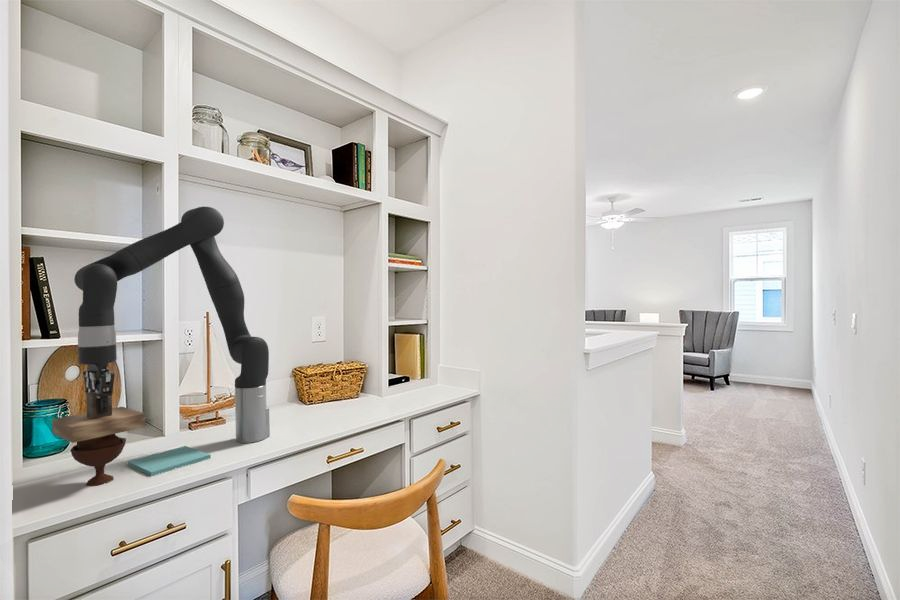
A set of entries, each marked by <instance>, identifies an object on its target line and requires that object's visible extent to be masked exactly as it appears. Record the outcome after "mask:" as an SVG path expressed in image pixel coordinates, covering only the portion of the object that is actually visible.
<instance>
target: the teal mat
mask: <svg viewBox="0 0 900 600" xmlns="http://www.w3.org/2000/svg"><path fill="white" fill-rule="evenodd" d="M208 458H210V459H211V454H210V453H207V452H204V451H201V450H198V449H197V448H193V447H190V446H187V445H183V446H180V447H176V448H172V449H168V450H165V451H161V452H157V453H153V454H150V455H145V456H143V457H142V456H141V457H138V458H135V459H132V460H127V466H129V467H131V468H134V469H135V470H138V471H140V472H142V471H143V472H142V473H144V472H145V474H146V475H149V476H150V475H151V477H153V475H154V476H156V474H157V475H159V473H160V474H163V473H166V471H167V472H170V471H173V470H176V469H175V468H177V469H180V468H183V467H186V466H189V465H188V464H190V465H193V464H196V463H199V462H198V461H200V462H202V461H201V460H203V461H206V460H209V459H208ZM205 459H206V460H205ZM195 462H196V463H195ZM192 463H193V464H192ZM185 465H186V466H185ZM182 466H183V467H182ZM179 467H180V468H179ZM172 469H173V470H172ZM169 470H170V471H169ZM162 472H163V473H162Z"/></svg>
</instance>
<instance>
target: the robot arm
mask: <svg viewBox="0 0 900 600" xmlns="http://www.w3.org/2000/svg"><path fill="white" fill-rule="evenodd" d="M224 221H225V220H224V216H223V215H222V214H221V212H220V211H218V210H217V209H216V208H214V207H211V206H198V207H196V208H192V209H188V210H186V211H185V212H184V213H183V215H182V216H181V219H180V221H179V223H177V224H175V225H173V226H171V227H169V228H166V229H164V230H162V231H160V232H157V233H155V234H151V235H149V236H147V237H144V238H142V239H140V240H138V241H135V242H132V243H131V244H129V245H127V246H125V247H124V248H122V249H121V248H120V249H118V251H115V252H114V253H112V254H110V255H108V256H105V257H103V258H101V259H98V260H96V261H93V262H91V263H90V264H87V265H85V266H82V267H81V268H80V269H78V270H77V271H76V273H75V274H74V284H75V286H76V287H77V288H78V289H79V290H81V291H82V302H81V304H80V306H79V308H78V332H77V355H78V356H77V357H78V361H77V362H78V364H79V365H83V366H85V365H87V370H83V371H82V377H83V383H84V390H85V391H84V392H85V394H86V393H89V392H96V399H97V413H98V414H104V413H107V412H108V411H109V408H108V397H110V396H113V394H114V393H113V391H114V383H115V373H114V372H112V371H111V369H110V368H109V364H110V363H115V362H116V361H117V360H118V359H117V334H116V328H115V324H116V323H115V310H114V308H115V303H116V297H117V292H118V282H119V281H121V280H123V279H124V278H128V277H130V276H133V275H136V274H138V273H141V272H142V271H144V270H146V269H147V268H149V267H151V266H154V265H155V264H156V263H159V262H160V261H162V260H163V259H165V258H168V256H170V255H172V254H174V253H176V252H177V251H180V250H181V249H184V248H185V247H189V246H190V248H191V250H192V251H193V254H194V256H195V258H196V260H197V261H196V262H197V263H198V266H199V269H200V272H201V275H202V277H203V280H204V282H205V285H206V288H207V291H208V294H209V297H210V299H211V301H212V304H213V305H214V308H215V311H216V314H217V316H218V317H217V318H219V321H220V324H221V326H222V329H223V334H224V337H225V340H226V345H227V346H226V347H227V349H228V352H229V355H230V357H231V359H232V360H233V361H234V362H235V363H237V364H238V365H240V374H239V375H238V376H236V378H235V379H234V402H235V406H234V408H235V412H234V413H235V442H237V443H241V444H249V443H256V442H260V441H263V440H264V439H266V438H268V437H271V435H270V434H271V430H270V407H269V406H267V378H268V375H269V367H270V366H269V362H270V361H269V360H270V355H269V354H270V353H269V351H270V350H269V347H268V346H269V345H268V343H267V342H266V340H265V339H263V338H262V337H259V336H251V334H250V332H249V330H248V327H247V323H246V321H245V316H244V315H245V293H244V291H243V290H244V289H243V288H242V284H241V282H240V279H239V277H238V275H237V273H236V272H235V270H234V268H233V267H232V266H231V265H230V264H229V262H228V261H227V260H226V259H225V258H224V256H223V254H222V253H221V251H220V249H219V246H218V244H217V241H216V236H217V235H219V234H220V233H221V232H222V231H223V228H224V226H225V225H224V224H225V222H224ZM103 390H105V392H103Z"/></svg>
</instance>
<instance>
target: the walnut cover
mask: <svg viewBox="0 0 900 600" xmlns="http://www.w3.org/2000/svg"><path fill="white" fill-rule="evenodd" d="M103 392H105V389H104V390H103ZM85 394H86V395H85V397H86V399H85V402H86V403H85V404H86V406H85V407H86V412H84V413H79V414H73V415H68V416H62V417H56V418H52V419H51V421H52V422H51V424H52V434H53V435H55V436H57V437H59V438H62V439H63V440H66V441H68V442H70V443H72V444H74V443H77V442H79V441H84V440H88V439H93V438H97V437H102V436H106V435H111V434H115V435H116V434H120V433H125V432H128V431H134V430H138V429H142V428H146V412H141V411H139V410H135V409H131V408H128V407H125V406H118V407H113V404H112V402H113V397H112V396H113V395H112V396H110V397H108V408H109V411H108V412H107V413H104V414H98V413H97V399H96V392H89V393H86V392H85Z"/></svg>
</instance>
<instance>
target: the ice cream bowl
mask: <svg viewBox="0 0 900 600" xmlns="http://www.w3.org/2000/svg"><path fill="white" fill-rule="evenodd" d="M126 442H127V438H125V437H120V436H118V435H116V434H111V435H106V436H102V437H97V438H93V439H88V440H84V441H79V442H76V444H75V445H73V446H72V448H70V453H71V457H73V459H74V460H75V461H76V462H78V463H80V464H81V465H84V466H87V467H93V468H94V469H95V475H94V476H93V477H91V478H90V479H88V480H87V482H86V486H87V487H96V486H101V485H104V483H105V484H108V483H110V482H112V481H114V479H115V478H114V476H113V475H111V474H107V473H105V467H106V465H108V464H109V463H111V462H113V461H114V460H115V459H117V458H118V457H119V456H120V454H122V452H123V450H124V447H125V446H126Z"/></svg>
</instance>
